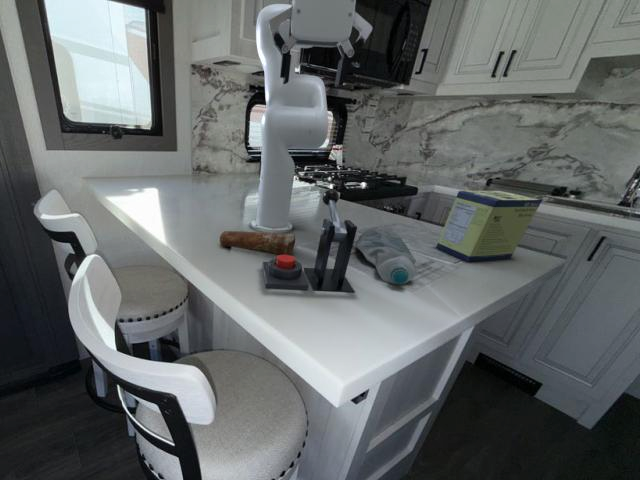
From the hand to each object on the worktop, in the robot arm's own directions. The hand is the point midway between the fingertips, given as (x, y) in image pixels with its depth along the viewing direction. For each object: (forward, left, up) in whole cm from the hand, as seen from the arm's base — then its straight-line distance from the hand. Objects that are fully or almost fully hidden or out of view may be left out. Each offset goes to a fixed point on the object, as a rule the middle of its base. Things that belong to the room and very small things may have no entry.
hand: (311, 84), depth 55 cm
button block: (+12, -2, -34) cm, 36 cm away
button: (+12, -2, -31) cm, 33 cm away
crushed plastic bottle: (+3, +22, -34) cm, 41 cm away
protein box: (-11, +53, -34) cm, 64 cm away
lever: (+7, +7, -22) cm, 24 cm away
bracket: (+12, +7, -34) cm, 37 cm away
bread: (-4, -7, -34) cm, 35 cm away
